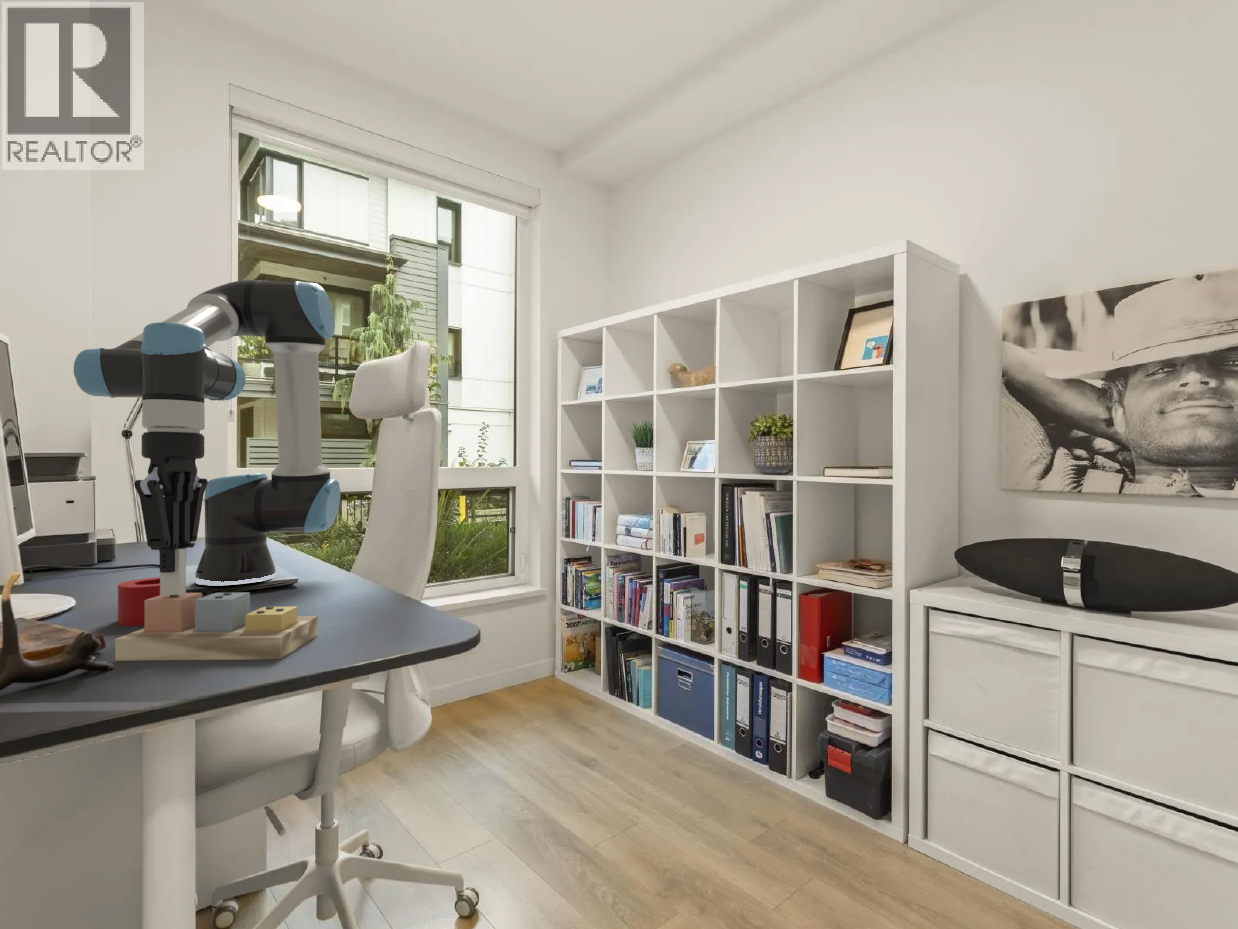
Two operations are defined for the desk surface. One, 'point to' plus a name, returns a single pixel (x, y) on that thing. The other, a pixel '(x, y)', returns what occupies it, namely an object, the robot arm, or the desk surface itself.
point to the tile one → (170, 612)
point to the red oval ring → (135, 600)
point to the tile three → (271, 619)
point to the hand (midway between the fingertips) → (172, 593)
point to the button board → (215, 643)
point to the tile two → (221, 612)
